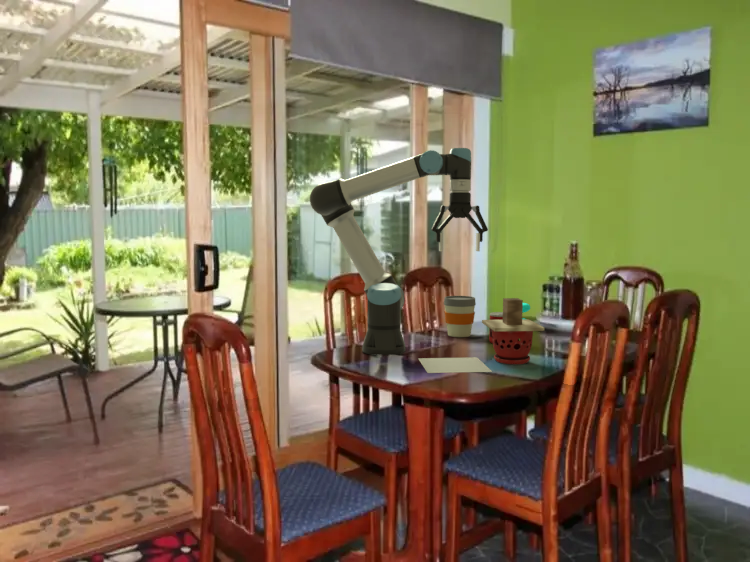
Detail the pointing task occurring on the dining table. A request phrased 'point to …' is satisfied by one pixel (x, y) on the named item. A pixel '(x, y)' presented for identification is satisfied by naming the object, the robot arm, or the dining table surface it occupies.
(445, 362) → the mat
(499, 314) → the canned food
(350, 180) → the robot arm
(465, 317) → the reusable coffee cup
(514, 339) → the plant pot
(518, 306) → the lid
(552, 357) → the dining table surface
